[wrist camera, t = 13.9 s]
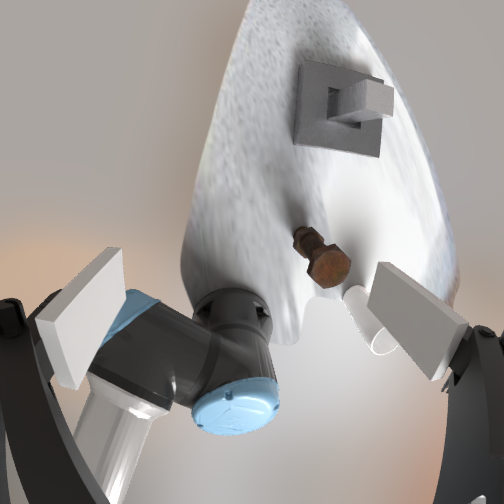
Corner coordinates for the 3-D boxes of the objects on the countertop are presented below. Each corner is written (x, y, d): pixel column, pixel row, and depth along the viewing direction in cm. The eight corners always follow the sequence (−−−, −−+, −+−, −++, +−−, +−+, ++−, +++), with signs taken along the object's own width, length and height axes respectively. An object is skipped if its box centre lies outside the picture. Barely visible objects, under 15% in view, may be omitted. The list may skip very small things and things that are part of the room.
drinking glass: (366, 307, 55) (400, 351, 40) (337, 312, 54) (367, 359, 40) (370, 279, 52) (410, 318, 38) (340, 282, 52) (375, 326, 38)
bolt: (322, 234, 48) (358, 268, 34) (302, 255, 49) (331, 296, 35) (299, 212, 46) (331, 239, 32) (279, 234, 47) (302, 270, 33)
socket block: (369, 156, 44) (379, 157, 41) (293, 144, 42) (298, 144, 39) (373, 83, 39) (383, 80, 36) (299, 65, 38) (304, 59, 34)
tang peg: (347, 123, 41) (392, 116, 28) (326, 119, 41) (365, 108, 28) (349, 101, 40) (393, 87, 27) (327, 97, 39) (366, 78, 26)
